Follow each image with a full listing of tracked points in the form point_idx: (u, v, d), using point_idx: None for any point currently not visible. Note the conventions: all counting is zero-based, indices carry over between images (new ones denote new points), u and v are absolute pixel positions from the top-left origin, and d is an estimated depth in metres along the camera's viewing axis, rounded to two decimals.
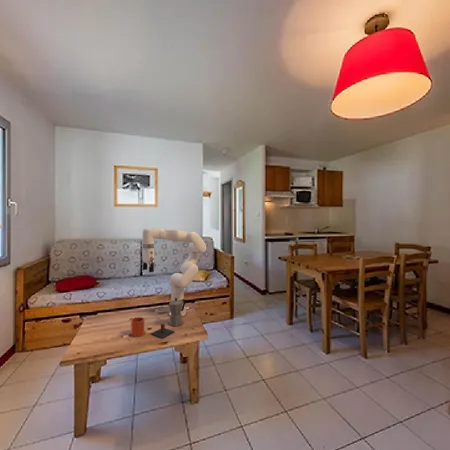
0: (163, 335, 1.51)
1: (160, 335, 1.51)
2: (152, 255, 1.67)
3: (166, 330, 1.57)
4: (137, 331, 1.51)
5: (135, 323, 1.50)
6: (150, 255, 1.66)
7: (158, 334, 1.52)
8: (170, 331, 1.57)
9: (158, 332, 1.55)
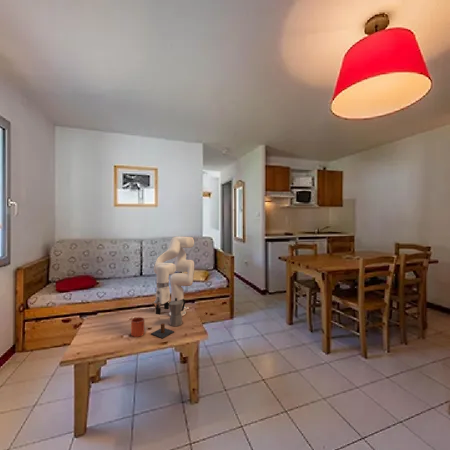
0: (163, 335, 1.51)
1: (160, 335, 1.51)
2: (159, 296, 1.50)
3: (166, 330, 1.57)
4: (137, 331, 1.51)
5: (135, 323, 1.50)
6: (157, 295, 1.50)
7: (158, 334, 1.52)
8: (170, 331, 1.57)
9: (158, 332, 1.55)
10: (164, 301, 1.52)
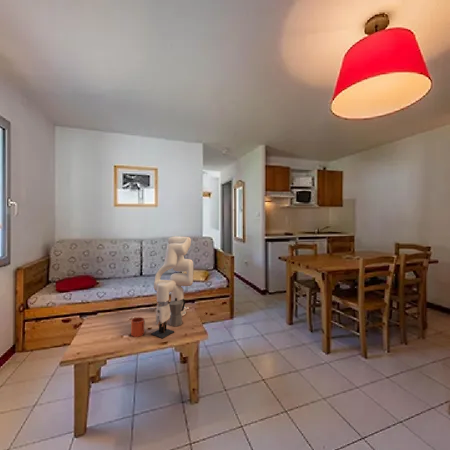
0: (163, 335, 1.51)
1: (160, 335, 1.51)
2: (159, 314, 1.50)
3: (166, 330, 1.57)
4: (137, 331, 1.51)
5: (135, 323, 1.50)
6: (157, 314, 1.51)
7: (158, 334, 1.52)
8: (170, 331, 1.57)
9: (158, 332, 1.55)
10: (164, 319, 1.52)
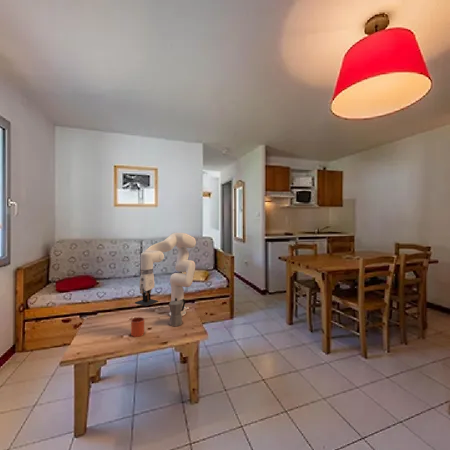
0: (147, 303, 1.50)
1: (143, 304, 1.49)
2: (143, 282, 1.49)
3: (150, 300, 1.56)
4: (137, 331, 1.51)
5: (135, 323, 1.50)
6: (141, 282, 1.50)
7: (142, 303, 1.51)
8: (154, 300, 1.56)
9: (142, 301, 1.54)
10: (148, 288, 1.51)
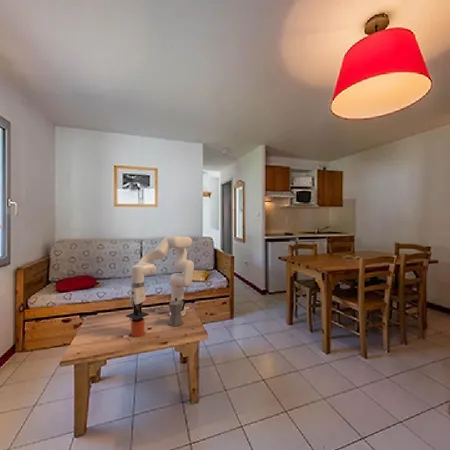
0: (137, 317, 1.50)
1: (134, 317, 1.49)
2: (133, 296, 1.49)
3: (141, 313, 1.56)
4: (137, 331, 1.51)
5: (135, 323, 1.50)
6: (131, 295, 1.49)
7: (132, 316, 1.51)
8: (145, 313, 1.55)
9: (133, 314, 1.54)
10: (139, 301, 1.51)
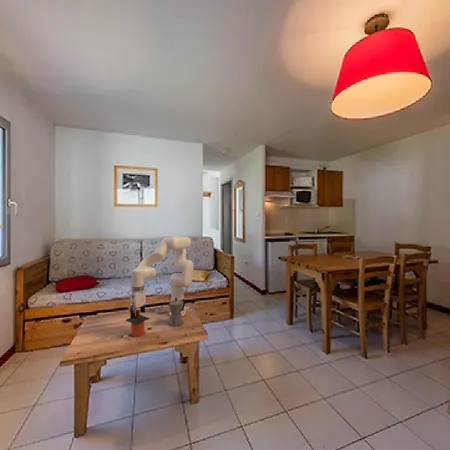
0: (137, 321, 1.50)
1: (134, 321, 1.49)
2: (133, 300, 1.49)
3: (142, 317, 1.56)
4: (137, 331, 1.51)
5: None
6: (131, 299, 1.50)
7: (132, 320, 1.51)
8: (145, 318, 1.55)
9: None
10: (139, 305, 1.51)
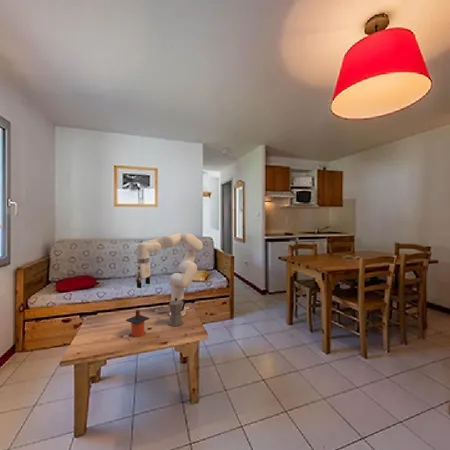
0: (137, 321, 1.50)
1: (134, 321, 1.49)
2: (139, 271, 1.60)
3: (142, 317, 1.56)
4: (137, 331, 1.51)
5: None
6: (137, 270, 1.60)
7: (132, 320, 1.51)
8: (145, 318, 1.55)
9: (133, 318, 1.54)
10: (145, 276, 1.62)
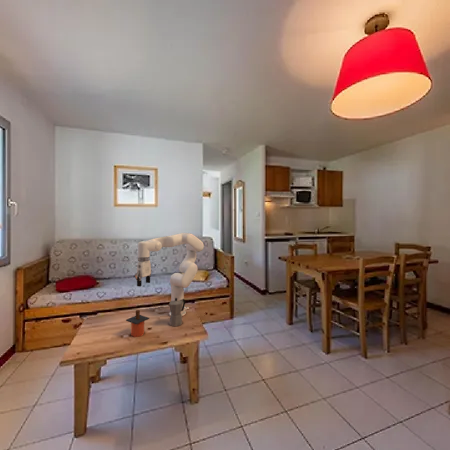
0: (137, 321, 1.50)
1: (134, 321, 1.49)
2: (140, 269, 1.61)
3: (142, 317, 1.56)
4: (137, 331, 1.51)
5: None
6: (138, 269, 1.61)
7: (132, 320, 1.51)
8: (145, 318, 1.55)
9: (133, 318, 1.54)
10: (145, 274, 1.63)
